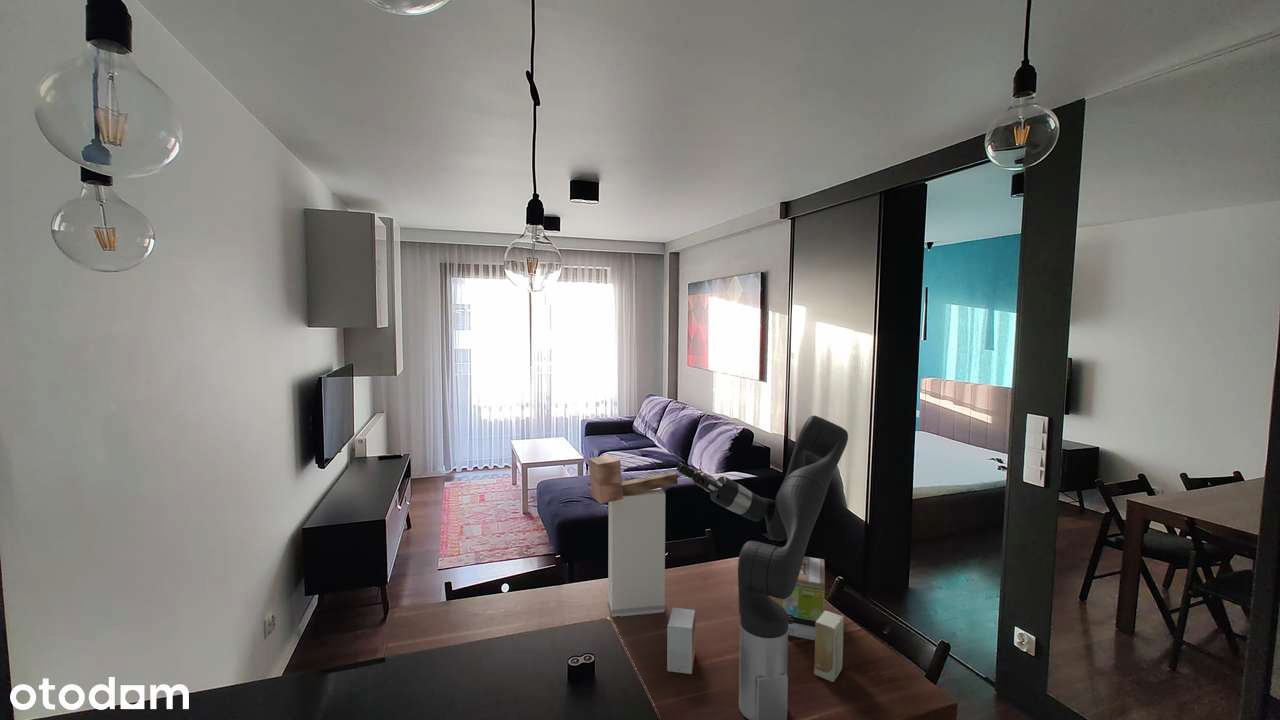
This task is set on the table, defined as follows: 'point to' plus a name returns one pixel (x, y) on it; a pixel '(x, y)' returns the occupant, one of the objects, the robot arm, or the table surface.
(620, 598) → the pedestal
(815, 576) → the green coffee box
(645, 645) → the table surface
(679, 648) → the small box
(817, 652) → the skincare box
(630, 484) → the mallet
